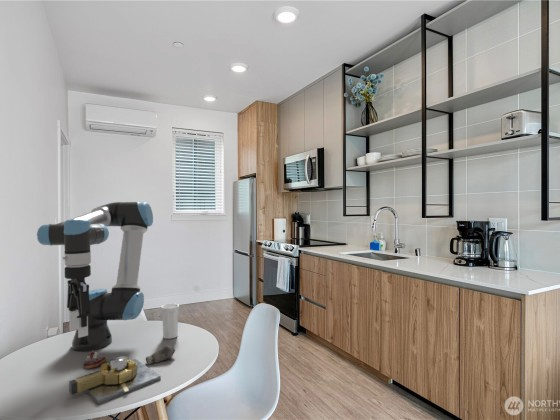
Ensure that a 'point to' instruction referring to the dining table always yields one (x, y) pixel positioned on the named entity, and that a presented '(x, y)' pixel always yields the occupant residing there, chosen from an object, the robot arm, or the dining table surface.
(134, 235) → the robot arm
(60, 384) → the dining table surface
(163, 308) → the cup
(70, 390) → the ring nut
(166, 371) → the dining table surface
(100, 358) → the pastry
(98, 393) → the base plate
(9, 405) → the dining table surface
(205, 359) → the dining table surface
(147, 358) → the stone
